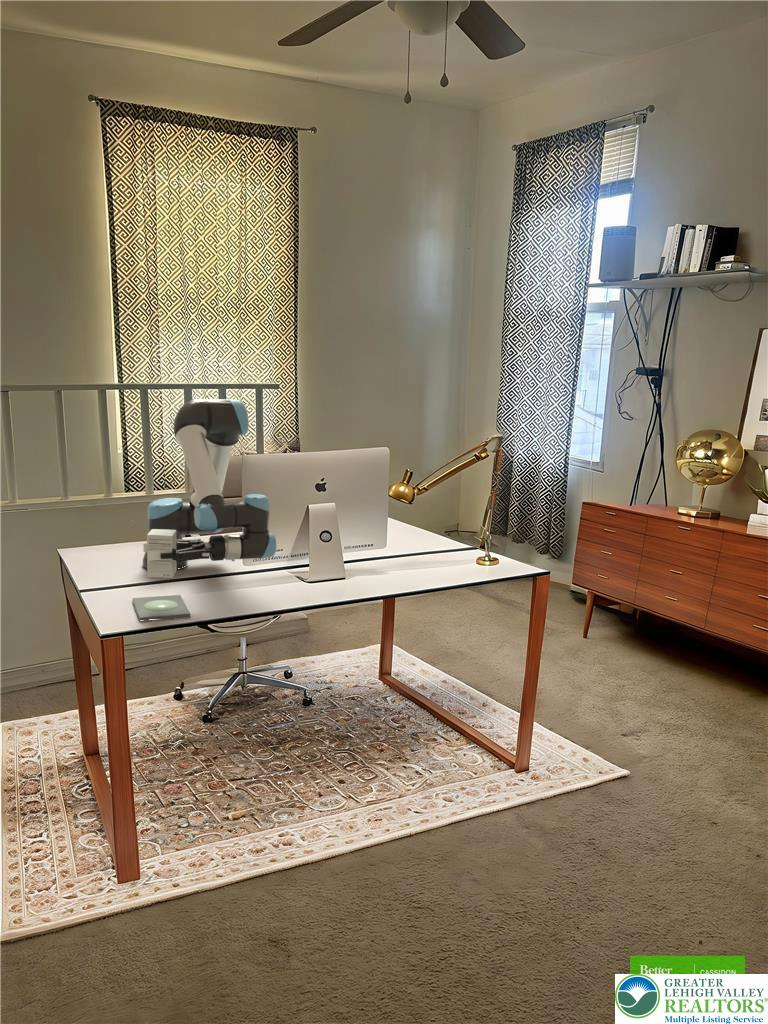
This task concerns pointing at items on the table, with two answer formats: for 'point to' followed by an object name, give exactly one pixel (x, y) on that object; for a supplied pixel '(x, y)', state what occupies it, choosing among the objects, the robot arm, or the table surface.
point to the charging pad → (161, 607)
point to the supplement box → (161, 541)
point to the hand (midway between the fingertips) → (145, 551)
